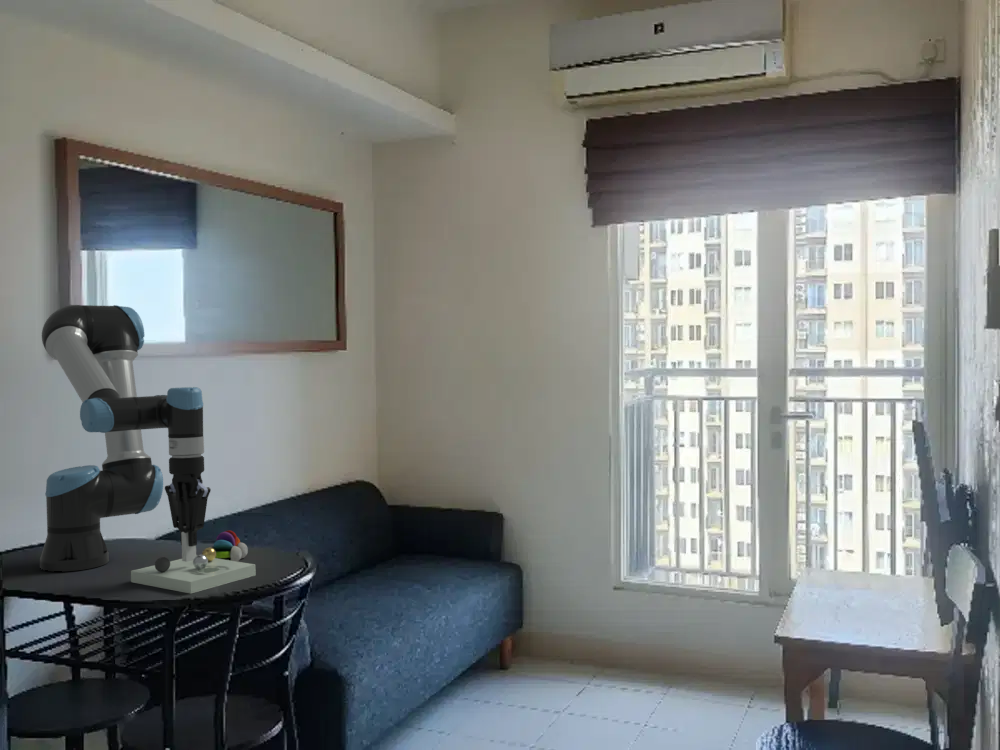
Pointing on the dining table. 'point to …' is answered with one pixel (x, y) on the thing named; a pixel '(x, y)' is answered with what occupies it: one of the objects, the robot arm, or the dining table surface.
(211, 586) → the pale green flat slab
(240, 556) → the rainbow disc rolling toy
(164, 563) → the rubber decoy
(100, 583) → the dining table surface
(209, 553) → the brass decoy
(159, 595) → the dining table surface
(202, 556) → the steel ball
